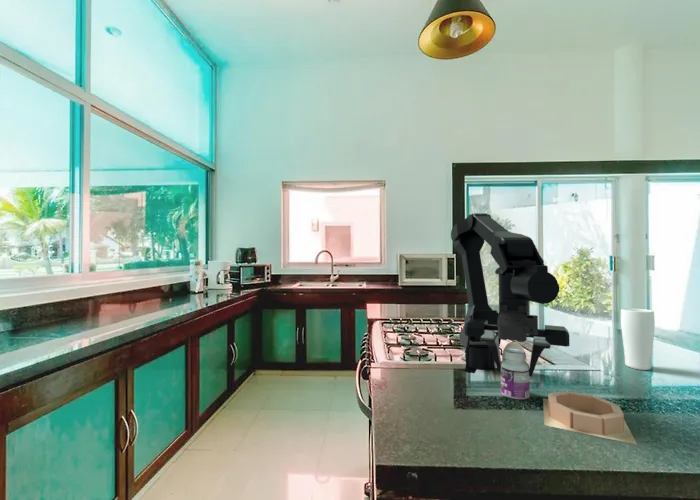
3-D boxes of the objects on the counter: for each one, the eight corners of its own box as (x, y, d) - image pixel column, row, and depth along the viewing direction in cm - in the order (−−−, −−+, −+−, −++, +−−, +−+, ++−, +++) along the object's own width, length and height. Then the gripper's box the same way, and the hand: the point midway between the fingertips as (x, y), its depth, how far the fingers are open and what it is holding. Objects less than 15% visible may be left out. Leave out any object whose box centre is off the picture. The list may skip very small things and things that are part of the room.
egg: (503, 376, 81) (502, 343, 82) (501, 369, 87) (501, 338, 87) (528, 379, 80) (528, 345, 80) (525, 371, 85) (524, 340, 85)
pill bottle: (495, 393, 71) (495, 347, 71) (519, 392, 72) (519, 347, 72) (509, 404, 66) (509, 355, 66) (535, 403, 66) (535, 354, 66)
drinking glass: (662, 372, 84) (661, 312, 84) (631, 370, 85) (630, 311, 85) (644, 364, 90) (643, 308, 91) (615, 362, 92) (614, 307, 92)
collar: (549, 424, 56) (549, 408, 56) (547, 400, 65) (547, 387, 65) (629, 440, 51) (628, 423, 51) (615, 412, 60) (615, 398, 60)
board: (544, 431, 56) (544, 424, 56) (543, 403, 66) (543, 398, 66) (637, 451, 50) (637, 444, 50) (620, 417, 60) (620, 412, 60)
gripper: (459, 298, 67) (459, 378, 66) (571, 305, 57) (572, 397, 57) (469, 293, 76) (469, 362, 76) (566, 298, 67) (567, 376, 67)
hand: (514, 373), depth 69 cm, fingers closed on pill bottle, 5 cm apart
